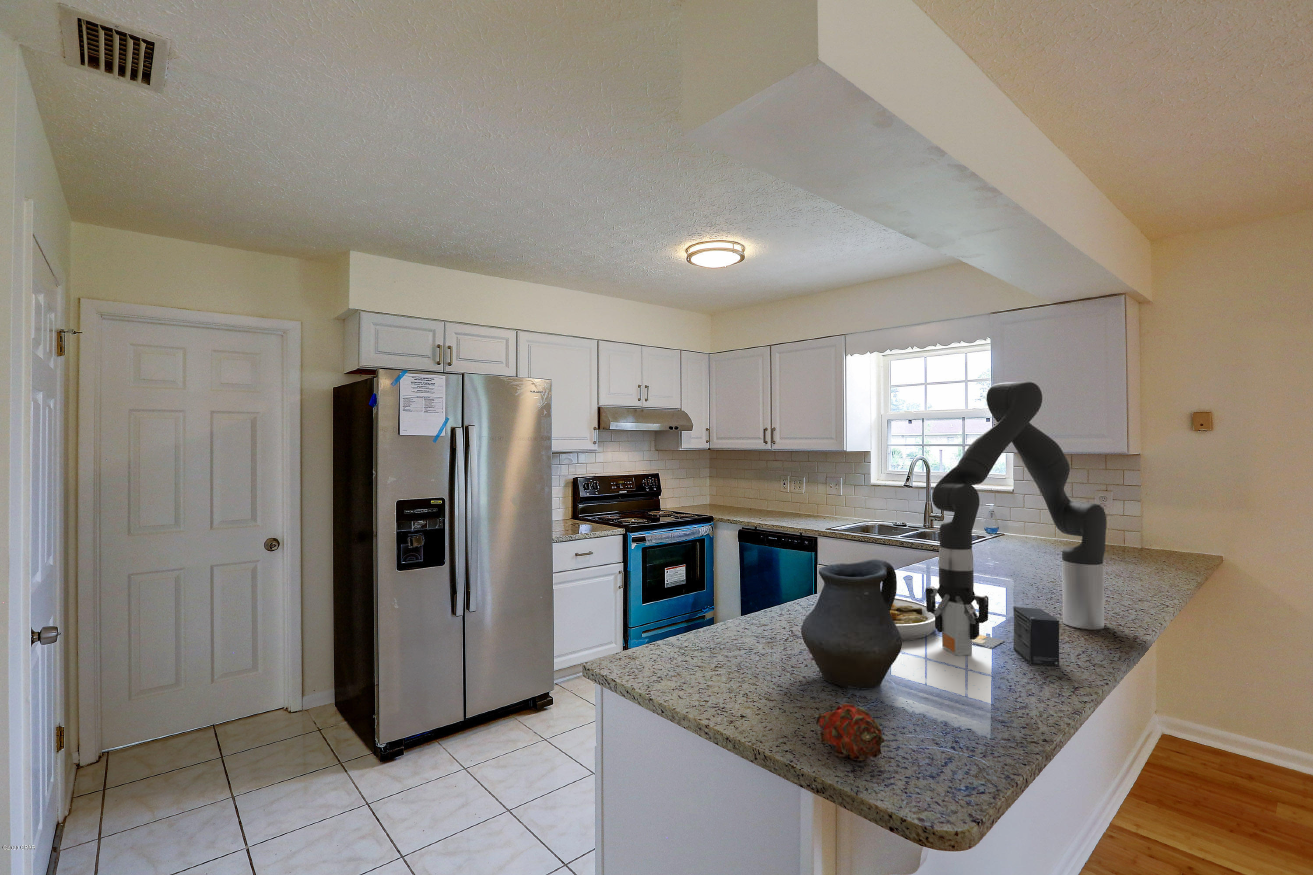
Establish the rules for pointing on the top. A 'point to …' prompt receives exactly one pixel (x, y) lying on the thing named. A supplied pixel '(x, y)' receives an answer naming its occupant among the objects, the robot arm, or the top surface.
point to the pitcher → (854, 624)
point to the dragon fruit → (851, 732)
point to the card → (987, 641)
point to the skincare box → (956, 629)
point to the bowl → (912, 619)
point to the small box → (1036, 636)
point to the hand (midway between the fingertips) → (956, 634)
